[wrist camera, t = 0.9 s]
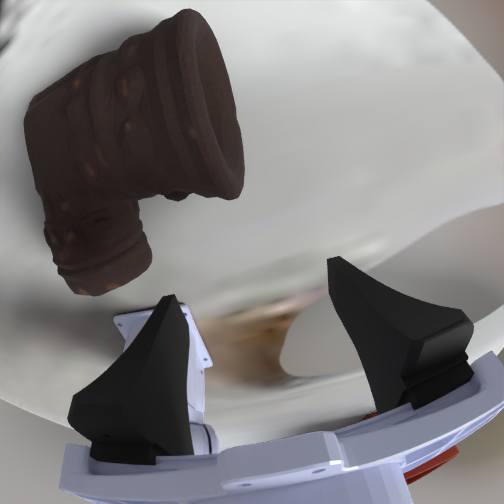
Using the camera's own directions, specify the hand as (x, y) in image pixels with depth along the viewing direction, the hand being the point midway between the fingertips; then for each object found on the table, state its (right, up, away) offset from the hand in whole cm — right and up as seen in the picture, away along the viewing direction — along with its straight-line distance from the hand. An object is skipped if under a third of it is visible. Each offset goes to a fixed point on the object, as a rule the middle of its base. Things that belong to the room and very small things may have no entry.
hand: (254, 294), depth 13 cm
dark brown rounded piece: (-9, +9, +6) cm, 14 cm away
